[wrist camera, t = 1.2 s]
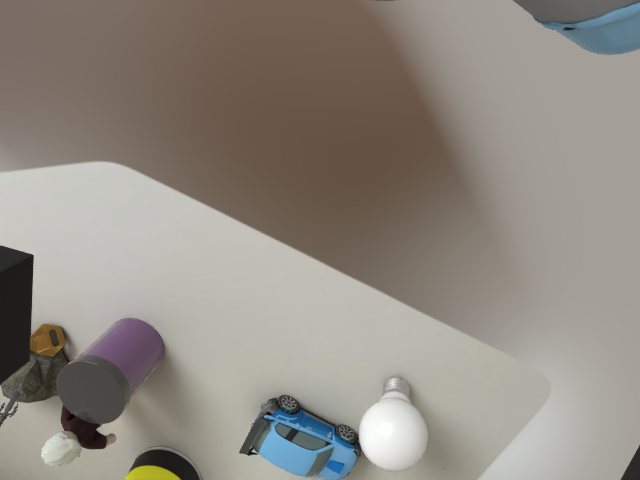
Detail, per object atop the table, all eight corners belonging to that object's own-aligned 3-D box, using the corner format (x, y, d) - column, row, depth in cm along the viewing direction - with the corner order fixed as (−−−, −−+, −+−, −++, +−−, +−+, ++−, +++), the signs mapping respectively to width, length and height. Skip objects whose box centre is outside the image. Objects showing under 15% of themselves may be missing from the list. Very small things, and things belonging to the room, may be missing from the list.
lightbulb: (376, 414, 60) (367, 491, 49) (359, 365, 58) (345, 434, 48) (434, 404, 58) (437, 482, 48) (418, 353, 56) (417, 422, 46)
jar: (105, 310, 61) (54, 354, 53) (166, 323, 60) (124, 370, 52) (106, 365, 64) (57, 415, 55) (165, 378, 63) (124, 431, 54)
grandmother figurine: (85, 370, 65) (10, 443, 53) (104, 353, 63) (31, 424, 52) (132, 414, 66) (69, 496, 54) (151, 399, 64) (91, 479, 53)
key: (-14, 343, 62) (-16, 343, 61) (59, 319, 63) (58, 319, 63) (-5, 375, 61) (-7, 376, 61) (68, 350, 63) (67, 350, 62)
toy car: (345, 469, 63) (338, 508, 58) (251, 422, 63) (236, 457, 58) (368, 433, 61) (363, 470, 55) (271, 385, 61) (256, 417, 55)
